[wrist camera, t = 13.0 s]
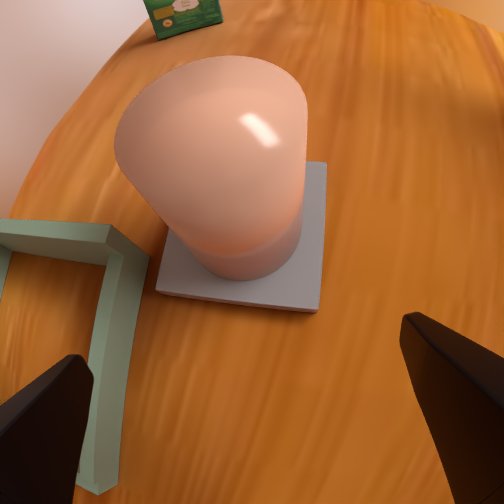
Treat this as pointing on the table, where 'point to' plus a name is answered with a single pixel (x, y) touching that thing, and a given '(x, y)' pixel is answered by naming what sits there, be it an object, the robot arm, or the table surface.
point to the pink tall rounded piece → (222, 161)
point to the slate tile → (266, 288)
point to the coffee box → (182, 15)
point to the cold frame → (105, 326)
